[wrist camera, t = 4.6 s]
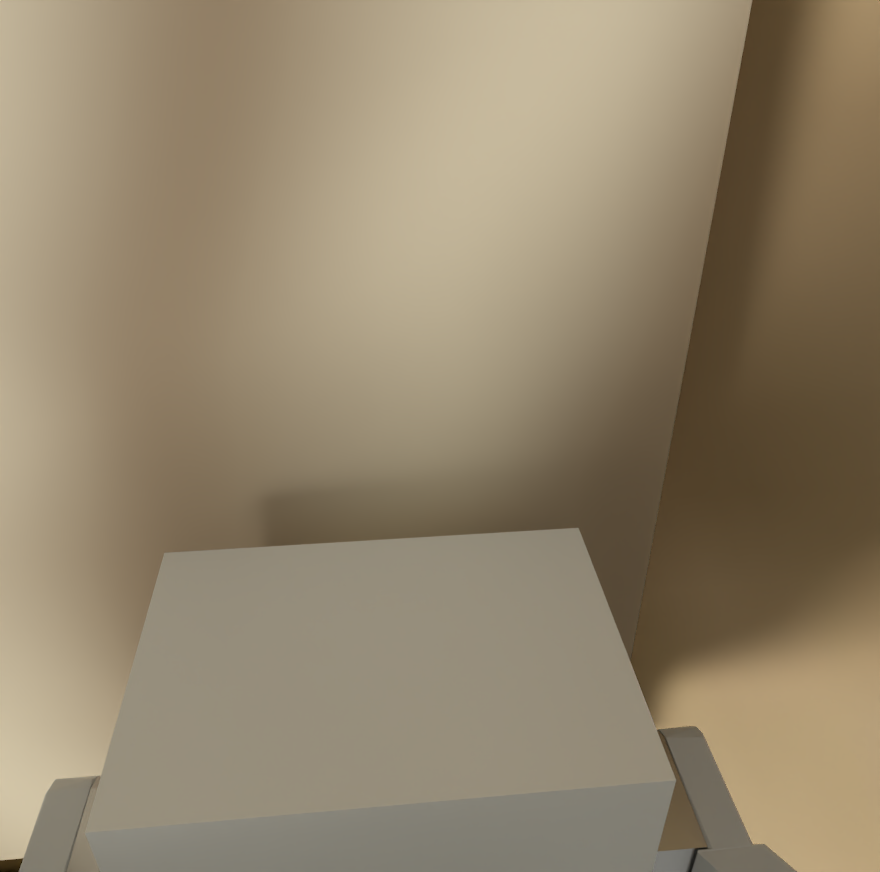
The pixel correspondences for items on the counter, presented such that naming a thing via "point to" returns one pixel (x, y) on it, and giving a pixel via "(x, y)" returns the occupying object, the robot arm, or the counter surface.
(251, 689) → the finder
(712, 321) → the counter surface
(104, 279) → the beige flat block
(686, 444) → the counter surface
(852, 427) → the counter surface
